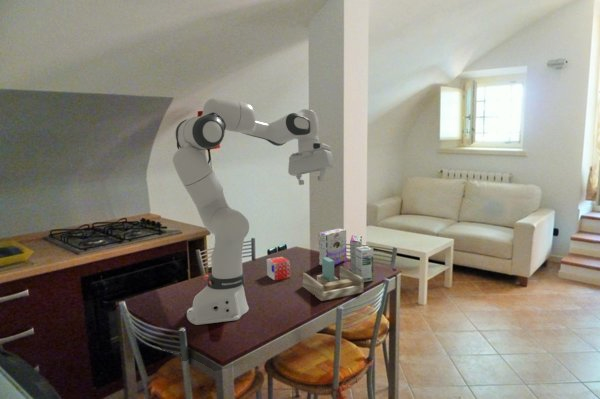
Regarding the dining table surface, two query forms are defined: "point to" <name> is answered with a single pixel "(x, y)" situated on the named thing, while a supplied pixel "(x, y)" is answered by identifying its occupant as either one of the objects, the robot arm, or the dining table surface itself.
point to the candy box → (333, 245)
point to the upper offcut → (337, 284)
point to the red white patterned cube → (278, 268)
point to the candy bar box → (354, 250)
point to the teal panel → (328, 269)
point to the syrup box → (364, 263)
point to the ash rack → (318, 288)
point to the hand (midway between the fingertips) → (310, 182)
